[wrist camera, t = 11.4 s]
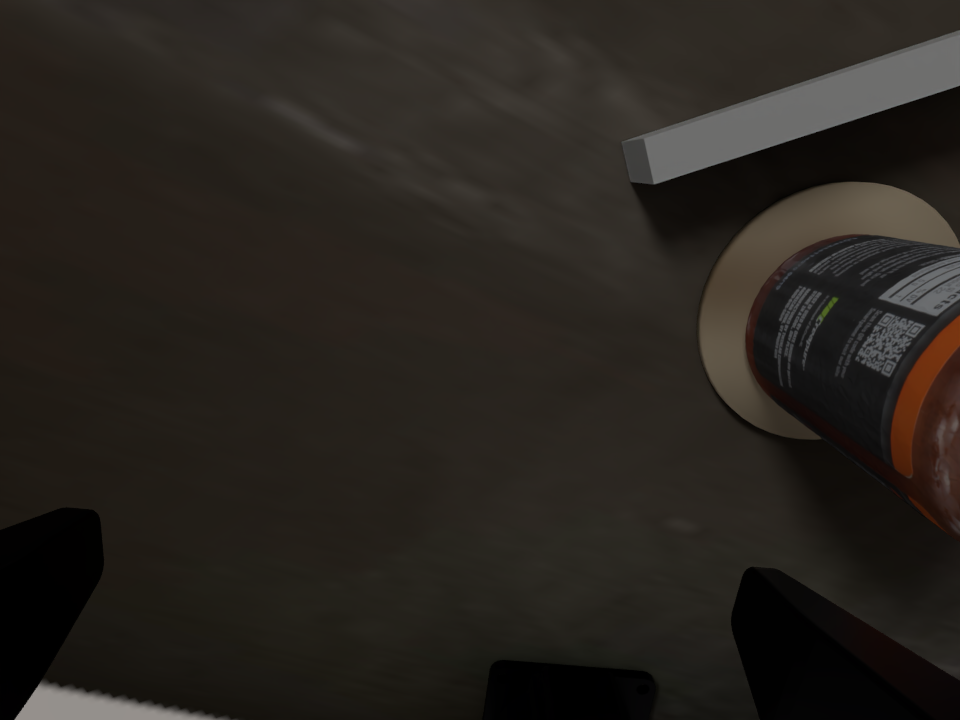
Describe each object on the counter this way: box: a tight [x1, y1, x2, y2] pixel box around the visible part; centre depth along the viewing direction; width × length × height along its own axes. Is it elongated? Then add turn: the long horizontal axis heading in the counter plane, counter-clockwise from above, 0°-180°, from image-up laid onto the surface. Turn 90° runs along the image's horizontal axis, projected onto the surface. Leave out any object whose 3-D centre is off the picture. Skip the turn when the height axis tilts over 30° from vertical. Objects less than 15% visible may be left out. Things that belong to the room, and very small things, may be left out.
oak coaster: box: [697, 182, 960, 440], centre depth 20 cm, size 8×8×1 cm
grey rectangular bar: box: [621, 30, 960, 184], centre depth 17 cm, size 10×1×2 cm, turn 108°
